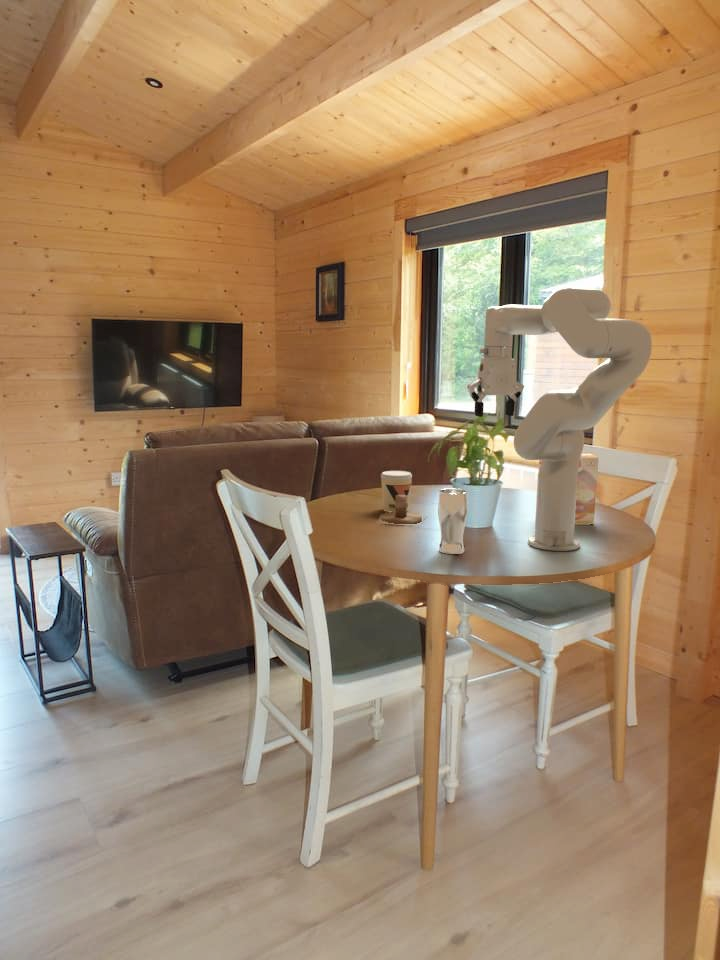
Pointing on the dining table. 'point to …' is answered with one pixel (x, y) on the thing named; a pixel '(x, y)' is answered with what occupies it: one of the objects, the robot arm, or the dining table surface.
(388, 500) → the coffee cup
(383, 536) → the dining table surface
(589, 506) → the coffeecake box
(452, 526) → the beer glass
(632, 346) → the robot arm
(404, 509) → the lid
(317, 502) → the dining table surface
